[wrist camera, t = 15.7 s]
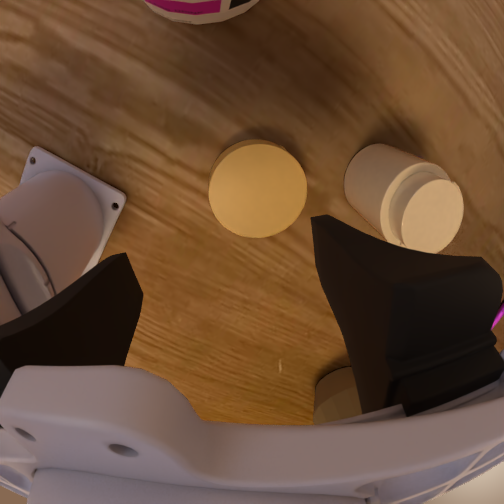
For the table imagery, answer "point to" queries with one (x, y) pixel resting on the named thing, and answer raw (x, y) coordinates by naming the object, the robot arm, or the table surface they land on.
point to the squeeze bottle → (336, 397)
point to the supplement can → (199, 9)
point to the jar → (404, 198)
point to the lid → (256, 188)
